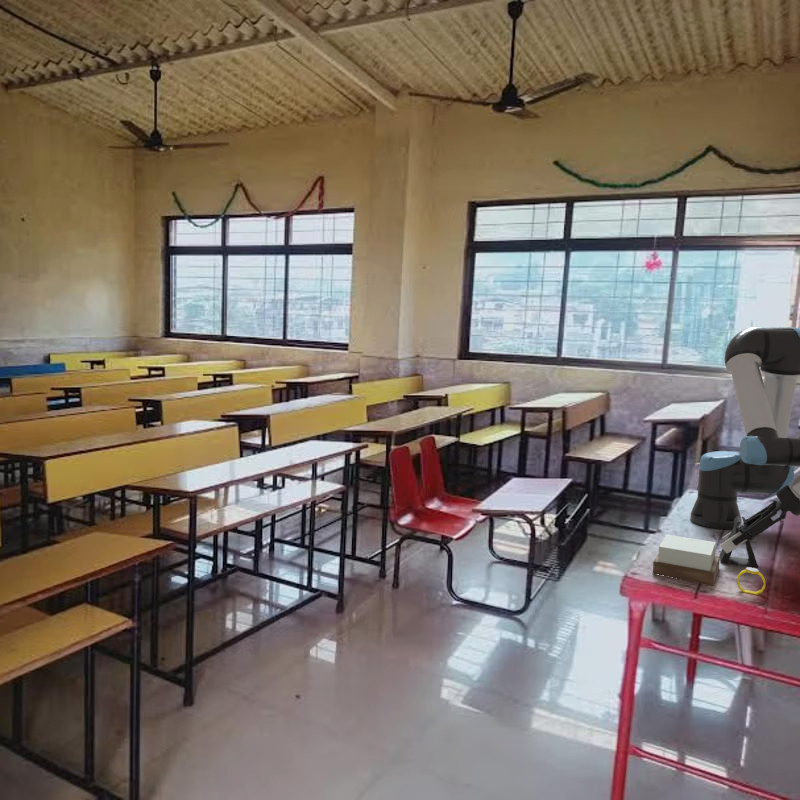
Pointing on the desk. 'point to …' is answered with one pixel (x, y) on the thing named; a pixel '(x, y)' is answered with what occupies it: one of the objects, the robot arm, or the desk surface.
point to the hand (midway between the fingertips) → (724, 545)
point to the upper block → (687, 552)
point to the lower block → (688, 572)
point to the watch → (752, 571)
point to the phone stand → (751, 559)
